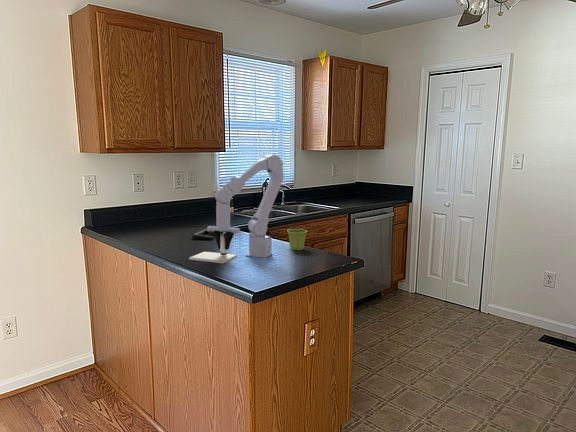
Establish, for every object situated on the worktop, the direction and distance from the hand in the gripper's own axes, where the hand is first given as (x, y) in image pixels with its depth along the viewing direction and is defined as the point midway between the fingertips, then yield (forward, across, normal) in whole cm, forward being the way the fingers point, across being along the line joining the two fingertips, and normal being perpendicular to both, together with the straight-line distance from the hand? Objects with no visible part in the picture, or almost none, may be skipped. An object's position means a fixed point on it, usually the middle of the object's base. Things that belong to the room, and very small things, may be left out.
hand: (223, 248), depth 180 cm
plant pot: (+4, +23, +28) cm, 36 cm away
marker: (+2, 0, 0) cm, 2 cm away
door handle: (+4, -28, +38) cm, 47 cm away
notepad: (+4, -4, -2) cm, 6 cm away
